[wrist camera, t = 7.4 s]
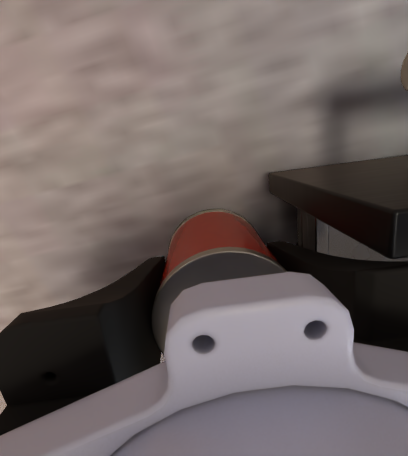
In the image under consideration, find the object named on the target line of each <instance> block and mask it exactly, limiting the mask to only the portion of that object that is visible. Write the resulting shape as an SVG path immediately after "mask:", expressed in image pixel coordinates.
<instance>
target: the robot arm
mask: <svg viewBox="0 0 408 456" xmlns="http://www.w3.org/2000/svg"><path fill="white" fill-rule="evenodd" d="M267 248H268V249H269V250H270V252H271V253H272V254H273V256H274V257H275V258H276V260H277V261H278V262H279V264H280V265H281V266H282V267H283V268H284V269H285V270H286V271H287V272H284V273H276V274H268V275H260V276H253V277H245V278H237V279H229V280H222V281H214V282H206V283H201V284H198V285H196V286H193V287H190V288H188V289H185V290H183V291H182V292H181V293H180V294H179V296H178V297H177V298H176V299H175V300H174V302H173V303H172V304H171V307H170V313H169V320H168V326H167V333H166V341H165V349H164V357H165V361H164V362H162V363H160V358H161V350H160V349H159V347H158V345H157V343H156V340H155V338H154V334H153V330H152V309H153V304H154V300H155V297H156V294H157V292H158V290H159V287H160V283H161V279H162V275H163V272H164V268H165V264H166V263H165V257H164V256H162V257H154V258H150V259H148V260H147V261H145V262H144V263H142V264H141V265H140V266H138V267H137V268H135V269H134V270H133V271H131V272H130V273H128V274H127V275H125V276H124V277H122V278H120V279H119V280H117V281H116V282H114V283H112V284H110V285H108V286H106V287H104V288H102V289H100V290H98V291H96V292H93V293H91V294H88V295H86V296H83V297H81V298H78V299H75V300H72V301H69V302H66V303H63V304H59V305H56V306H52V307H48V308H43V309H39V310H35V311H30V312H25V313H21V314H20V315H19V316H18V317H17V318H15V319H14V320H13V321H12V322H11V323H10V324H9V325H8V326H7V327H6V328H5V329H4V330H3V331H2V332H1V333H0V391H1V393H2V395H3V398H4V400H5V402H6V404H7V406H6V408H5V409H4V410H3V412H2V413H1V414H0V456H408V261H371V260H359V259H350V258H344V257H338V256H332V255H328V254H324V253H320V252H316V251H312V250H309V249H306V248H302V247H299V246H296V245H293V244H290V243H286V242H282V241H278V242H270V243H267Z"/></svg>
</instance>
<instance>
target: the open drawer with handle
mask: <svg viewBox="0 0 408 456" xmlns="http://www.w3.org/2000/svg"><path fill="white" fill-rule="evenodd" d="M401 83H402V86H403V87H404V89H405V90H406V91H408V53H407V55H406V57H405V59H404V61H403V64H402V68H401ZM269 190H270V193H271V194H273V195H275V196H277V197H279V198H280V199H282V200H284V201H286V202H288V203H289V204H291V205H293V206H295V207H297V224H298V246H299V247H302V248H306V249H309V250H312V251H316V252H320V253H324V254H328V255H332V256H338V257H344V258H350V259H359V260H371V261H408V155H404V156H396V157H389V158H381V159H373V160H365V161H358V162H350V163H342V164H335V165H327V166H319V167H311V168H304V169H296V170H288V171H281V172H273V173H269Z"/></svg>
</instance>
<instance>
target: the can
mask: <svg viewBox="0 0 408 456" xmlns="http://www.w3.org/2000/svg"><path fill="white" fill-rule="evenodd" d="M284 272H287V271H286V270H285V269H284V268H283V267H282V266H281V265H280V264H279V262H278V261H277V260H276V258H275V257H274V256H273V254H272V253H271V252H270V250H269V249H268V248H267V246H266V245H265V244H264V242H263V241H262V240H261V238H260V237H259V236H258V234H257V232H256V230H255V229H254V227H253V226H252V225H251V224H250V223H249V222H248V221H247V220H246V219H245V218H243V217H242V216H240V215H238V214H236V213H234V212H231V211H228V210H223V209H209V210H204V211H201V212H198V213H195V214H193V215H191V216H190V217H188V218H187V219H186V220H184V221H183V222H182V223H181V224H180V225H179V226H178V228H177V229H176V231H175V232H174V234H173V236H172V238H171V241H170V245H169V250H168V256H167V260H166V264H165V268H164V272H163V275H162V279H161V283H160V287H159V290H158V292H157V294H156V297H155V300H154V304H153V309H152V330H153V334H154V338H155V340H156V343H157V345H158V347H159V349H160V350H161V352H162V353H163V355H164V349H165V341H166V333H167V326H168V320H169V313H170V307H171V304H172V303H173V302H174V300H175V299H176V298H177V297H178V296H179V294H180V293H181V292H182V291H183V290H185V289H188V288H190V287H193V286H196V285H198V284H201V283H206V282H214V281H222V280H229V279H237V278H245V277H253V276H260V275H268V274H276V273H284Z"/></svg>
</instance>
